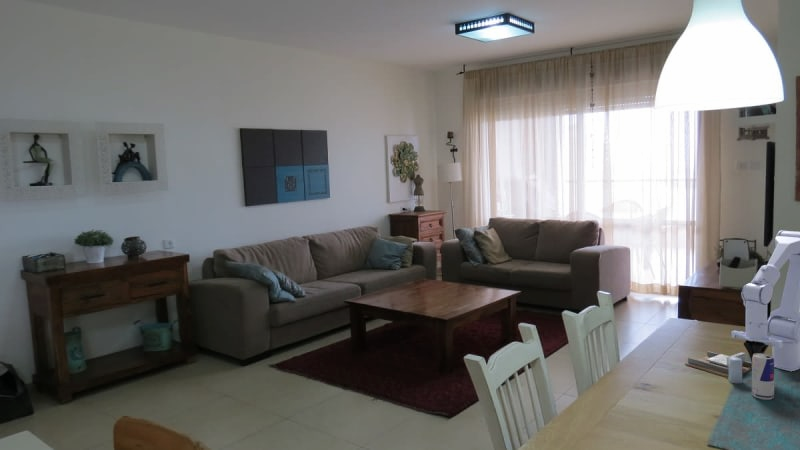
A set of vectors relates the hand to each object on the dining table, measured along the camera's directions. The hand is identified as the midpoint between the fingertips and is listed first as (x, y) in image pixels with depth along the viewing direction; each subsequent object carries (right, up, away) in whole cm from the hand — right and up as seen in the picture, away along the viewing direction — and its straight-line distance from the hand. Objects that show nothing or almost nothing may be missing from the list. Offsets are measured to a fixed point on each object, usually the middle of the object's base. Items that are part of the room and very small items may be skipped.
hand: (756, 364), depth 180 cm
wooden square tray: (-5, -3, +11) cm, 12 cm away
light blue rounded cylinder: (-8, -5, -2) cm, 9 cm away
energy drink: (-7, -6, -14) cm, 17 cm away
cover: (-5, -1, +9) cm, 10 cm away
